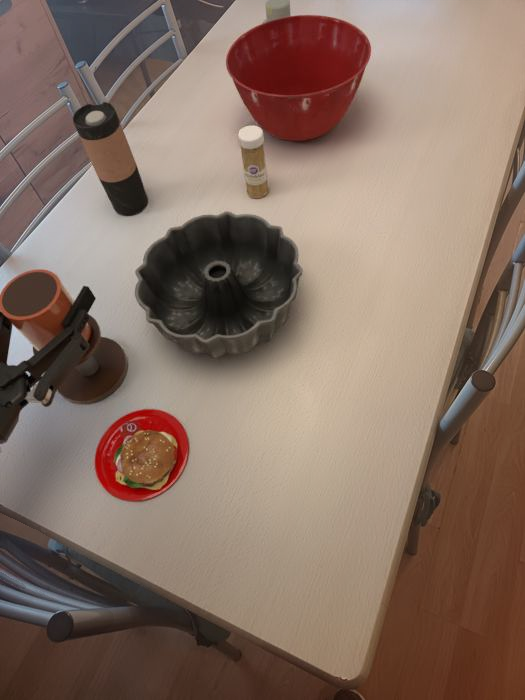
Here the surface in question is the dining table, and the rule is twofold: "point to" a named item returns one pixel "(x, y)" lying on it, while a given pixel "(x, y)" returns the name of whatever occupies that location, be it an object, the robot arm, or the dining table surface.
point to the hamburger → (141, 455)
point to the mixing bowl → (299, 73)
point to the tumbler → (37, 306)
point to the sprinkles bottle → (254, 160)
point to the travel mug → (111, 157)
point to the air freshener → (277, 9)
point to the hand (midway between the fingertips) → (62, 287)
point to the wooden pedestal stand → (95, 370)
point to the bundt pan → (219, 283)
